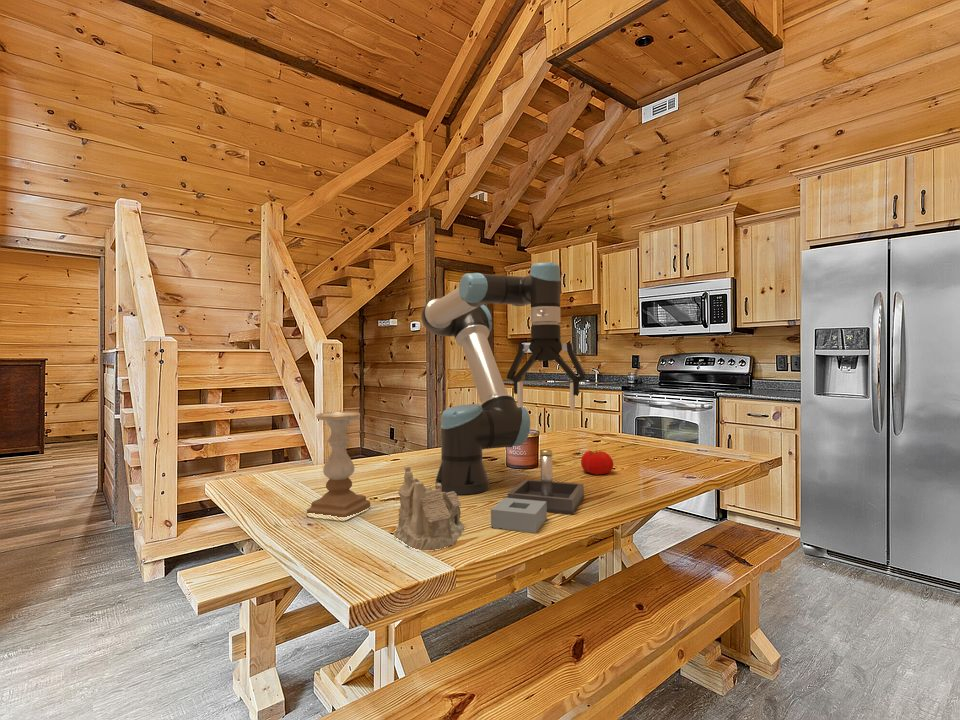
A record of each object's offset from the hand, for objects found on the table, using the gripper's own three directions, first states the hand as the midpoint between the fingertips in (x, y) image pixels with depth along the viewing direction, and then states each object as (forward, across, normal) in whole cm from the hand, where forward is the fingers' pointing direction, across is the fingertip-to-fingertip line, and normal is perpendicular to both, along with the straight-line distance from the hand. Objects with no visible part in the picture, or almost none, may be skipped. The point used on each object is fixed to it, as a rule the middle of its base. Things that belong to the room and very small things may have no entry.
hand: (545, 407), depth 129 cm
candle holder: (+24, -45, -25) cm, 57 cm away
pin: (+23, 0, 0) cm, 23 cm away
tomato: (+25, +7, +38) cm, 46 cm away
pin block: (+24, -2, -18) cm, 30 cm away
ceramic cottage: (+24, -17, -32) cm, 43 cm away
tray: (+24, 0, 0) cm, 24 cm away
